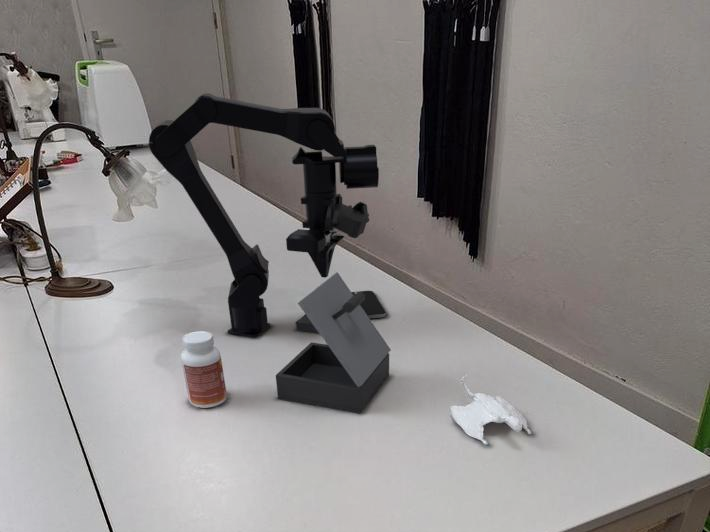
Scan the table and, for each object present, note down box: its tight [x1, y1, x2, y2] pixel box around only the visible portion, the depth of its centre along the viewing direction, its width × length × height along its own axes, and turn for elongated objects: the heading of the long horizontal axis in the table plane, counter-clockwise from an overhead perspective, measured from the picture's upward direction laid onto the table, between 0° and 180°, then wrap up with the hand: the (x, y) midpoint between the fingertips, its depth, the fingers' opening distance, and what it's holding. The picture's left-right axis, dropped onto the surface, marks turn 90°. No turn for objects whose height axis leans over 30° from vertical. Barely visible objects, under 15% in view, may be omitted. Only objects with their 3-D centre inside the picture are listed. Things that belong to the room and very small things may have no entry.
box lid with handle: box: [297, 272, 392, 387], centre depth 101 cm, size 15×14×5 cm
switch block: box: [295, 313, 319, 334], centre depth 130 cm, size 10×8×4 cm
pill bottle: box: [180, 330, 228, 409], centre depth 104 cm, size 6×6×11 cm
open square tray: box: [275, 341, 390, 414], centre depth 108 cm, size 15×14×4 cm
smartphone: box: [351, 290, 387, 320], centre depth 139 cm, size 8×1×15 cm
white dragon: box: [450, 374, 532, 446], centre depth 99 cm, size 18×10×4 cm, turn 21°
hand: (324, 276), depth 126 cm, fingers closed
